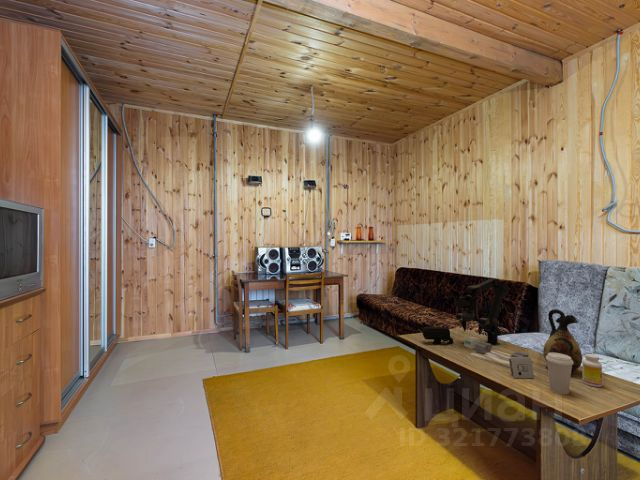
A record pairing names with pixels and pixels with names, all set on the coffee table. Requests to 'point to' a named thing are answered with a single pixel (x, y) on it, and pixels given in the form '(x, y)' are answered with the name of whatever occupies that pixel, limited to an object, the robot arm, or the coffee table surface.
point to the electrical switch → (521, 367)
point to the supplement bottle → (592, 371)
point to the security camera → (437, 334)
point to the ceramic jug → (563, 339)
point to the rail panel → (494, 354)
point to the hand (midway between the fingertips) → (472, 332)
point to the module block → (471, 342)
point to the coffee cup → (559, 372)
